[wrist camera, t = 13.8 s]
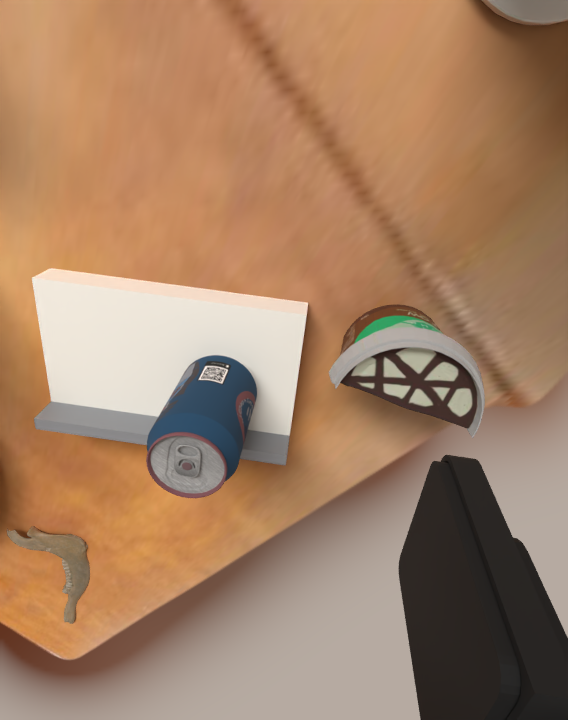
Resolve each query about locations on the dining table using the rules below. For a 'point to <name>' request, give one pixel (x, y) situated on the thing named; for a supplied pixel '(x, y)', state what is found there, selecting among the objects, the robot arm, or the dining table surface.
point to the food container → (411, 365)
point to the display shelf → (160, 354)
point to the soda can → (202, 427)
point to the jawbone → (73, 561)
